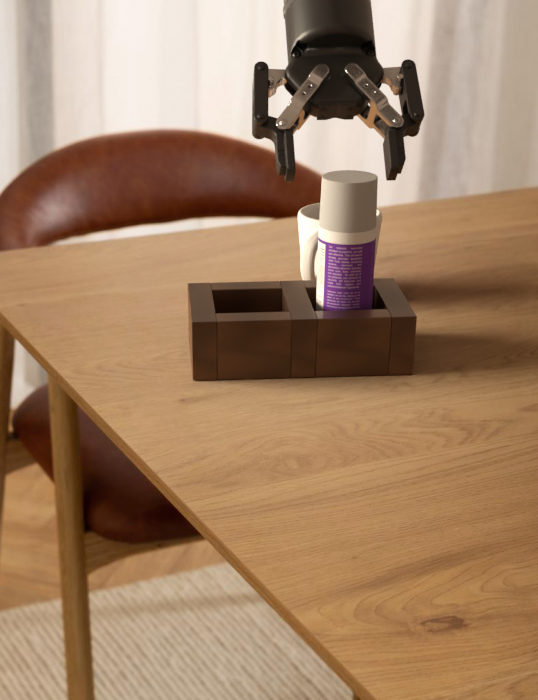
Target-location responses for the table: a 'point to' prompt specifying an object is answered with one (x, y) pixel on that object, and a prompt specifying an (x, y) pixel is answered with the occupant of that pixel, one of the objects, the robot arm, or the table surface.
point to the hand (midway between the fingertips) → (342, 176)
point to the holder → (296, 332)
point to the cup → (316, 239)
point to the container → (346, 241)
